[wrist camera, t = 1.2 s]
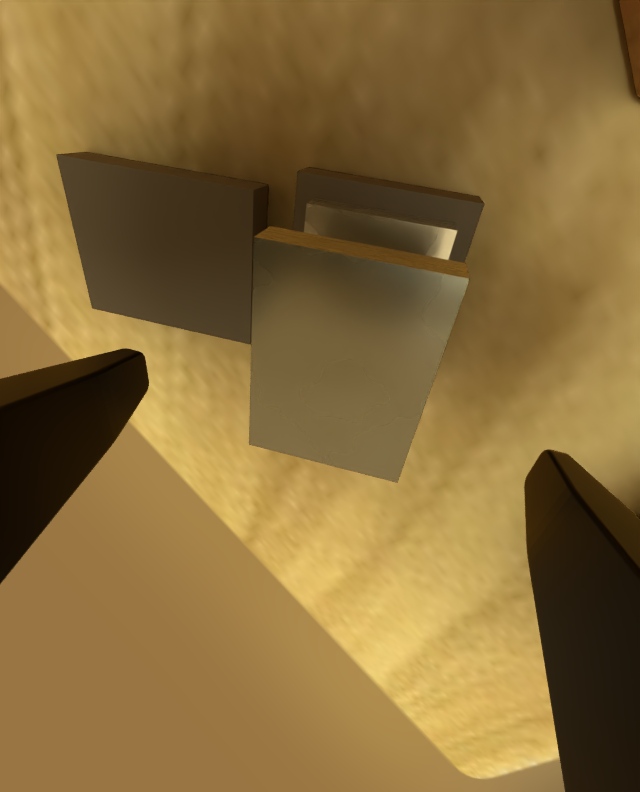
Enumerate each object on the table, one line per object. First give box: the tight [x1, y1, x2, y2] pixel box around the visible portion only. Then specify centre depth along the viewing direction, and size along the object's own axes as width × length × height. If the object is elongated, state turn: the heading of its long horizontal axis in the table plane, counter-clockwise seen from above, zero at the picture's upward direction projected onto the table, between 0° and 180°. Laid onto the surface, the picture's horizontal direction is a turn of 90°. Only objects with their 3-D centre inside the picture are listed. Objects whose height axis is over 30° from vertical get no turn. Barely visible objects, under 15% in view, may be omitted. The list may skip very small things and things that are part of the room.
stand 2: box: [293, 167, 484, 263], centre depth 15 cm, size 6×7×2 cm
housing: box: [249, 198, 470, 483], centre depth 12 cm, size 4×6×6 cm
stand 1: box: [56, 152, 268, 344], centre depth 16 cm, size 7×6×2 cm
